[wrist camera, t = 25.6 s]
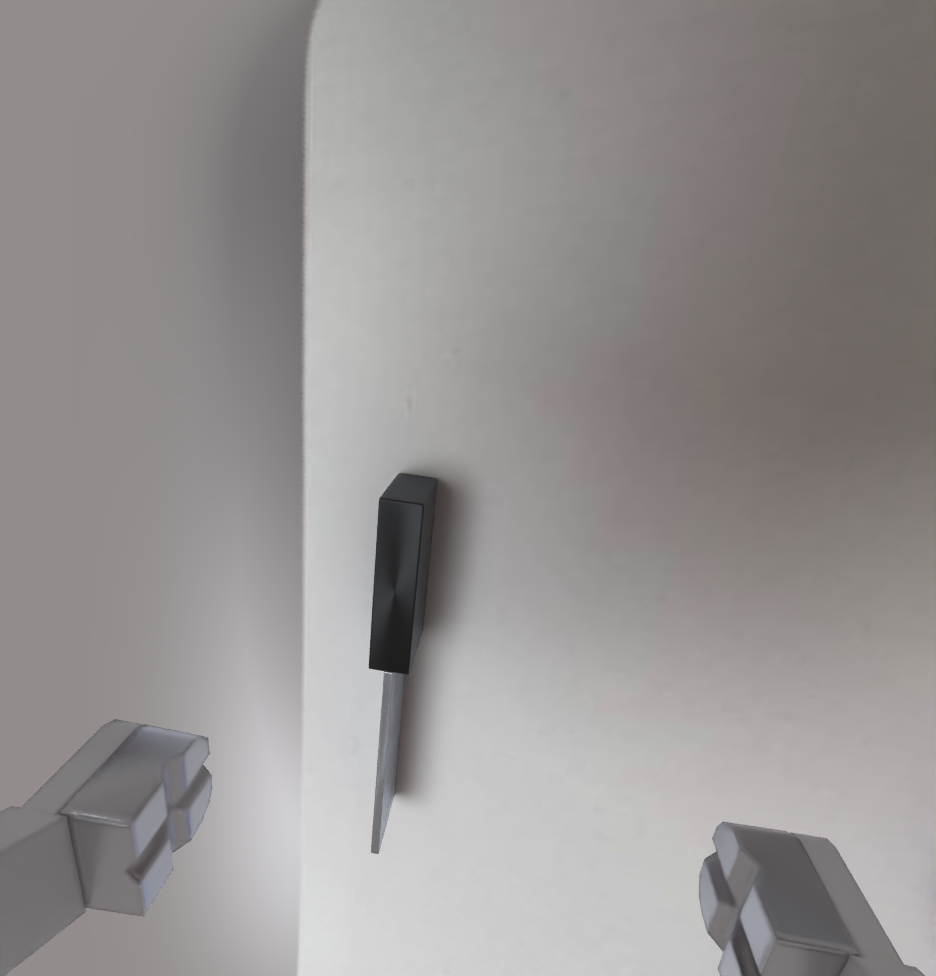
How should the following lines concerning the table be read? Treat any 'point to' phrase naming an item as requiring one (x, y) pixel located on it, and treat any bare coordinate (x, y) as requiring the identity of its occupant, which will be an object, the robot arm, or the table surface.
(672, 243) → the table surface
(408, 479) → the knife
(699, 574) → the table surface
